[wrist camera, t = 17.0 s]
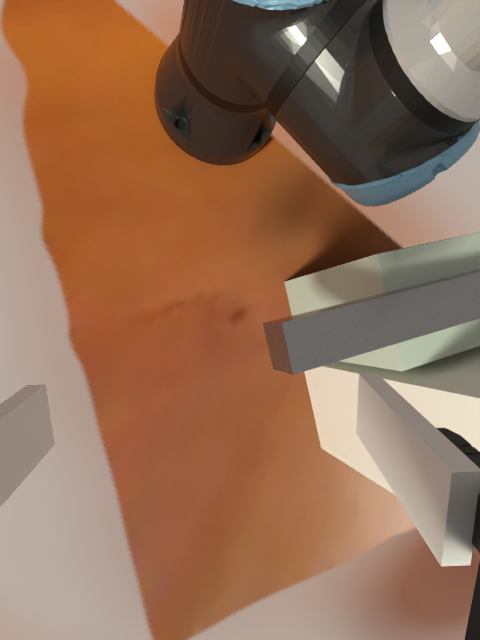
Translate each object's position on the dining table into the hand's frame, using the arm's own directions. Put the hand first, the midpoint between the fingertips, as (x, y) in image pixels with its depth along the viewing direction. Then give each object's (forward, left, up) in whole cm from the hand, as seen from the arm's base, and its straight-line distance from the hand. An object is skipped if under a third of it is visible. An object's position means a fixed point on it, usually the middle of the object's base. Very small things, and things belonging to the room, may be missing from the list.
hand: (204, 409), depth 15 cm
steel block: (-6, +21, -10) cm, 24 cm away
